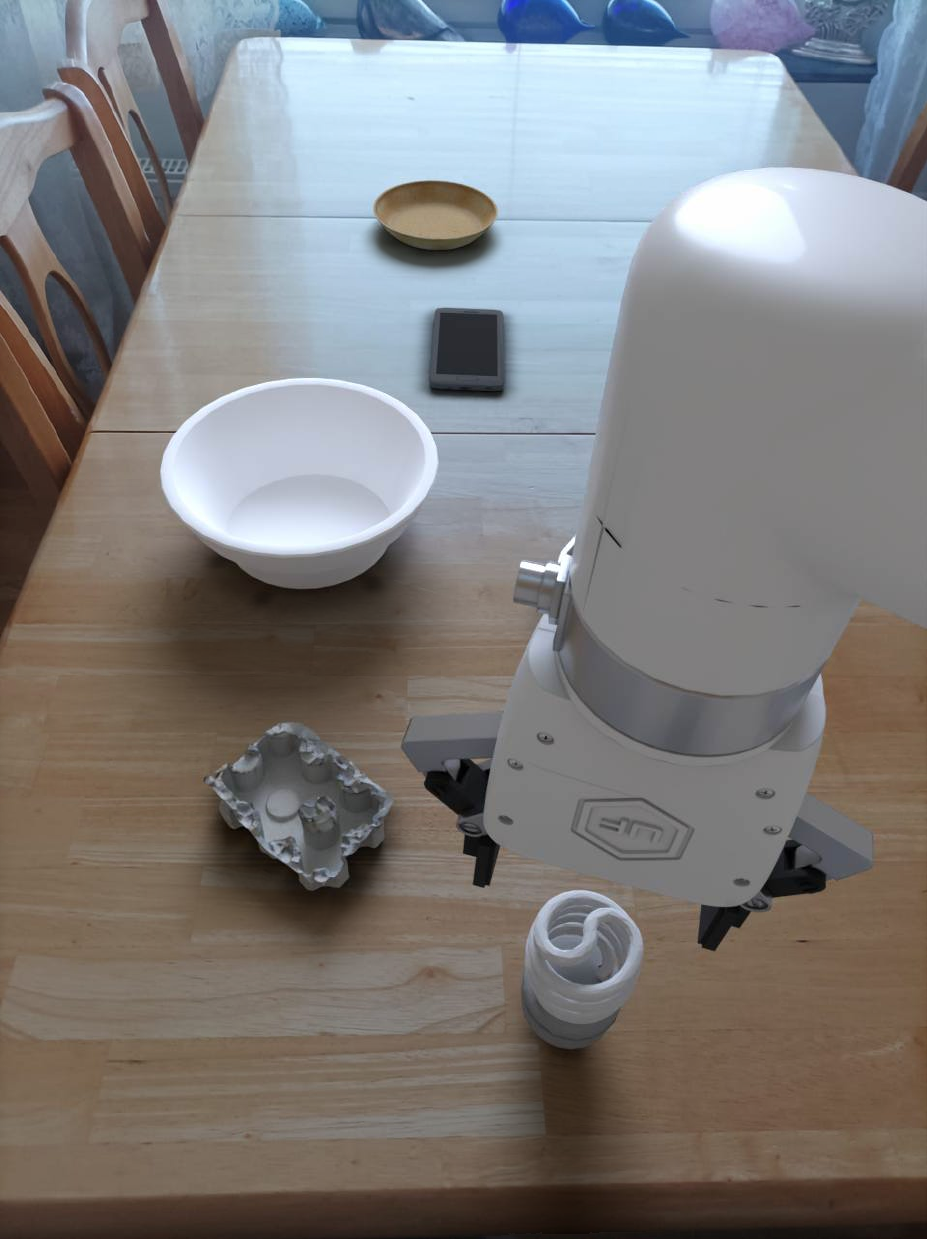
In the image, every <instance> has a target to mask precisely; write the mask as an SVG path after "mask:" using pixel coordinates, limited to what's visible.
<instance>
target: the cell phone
mask: <svg viewBox="0 0 927 1239" xmlns="http://www.w3.org/2000/svg"><path fill="white" fill-rule="evenodd" d="M504 323H505V321H504V313H503V311H502V310H499V309H491V308H466V307H465V308H462V307H438V308H436V309H435V310H434V315H433V329H432V343H431V344H432V345H431V356H430V371H429V385H430V387H431V388H432V389H437V390H454V391H459V390H460V391H484V392H500V391H502V390H504V388H505V382H506V381H505V380H506V379H505V378H506V377H505V376H506V375H505V374H506V373H505V326H504V325H505V324H504Z"/></svg>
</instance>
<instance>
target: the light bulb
mask: <svg viewBox="0 0 927 1239" xmlns="http://www.w3.org/2000/svg"><path fill="white" fill-rule="evenodd" d="M644 951H645V949H644V941H643V938H642V933H641V931H640V929H639V928H638V926H637V924H636V922H635V921H634V920H633V919H632V918H631V917H630V915H629V914H628V912H626V911H625V910H624V909H623V908H622V907H621V906H620V905H618V903H616V902H615V901H614V900H612V899H610V898H609V897H607V896H606V895H603V894H600V893H598V892H595V891H591V890H585V889H581V890H580V889H573V890H570V891H565V892H561V893H559V894H557V895H556V896H554V897H552V898H550V899H549V900H548V901H547V902H546V903H545V904H544V905H543V906H542V907H541V908H540V910H539V912H538V913H537V915H536V918H535V919H534V921H533V923H532V924H531V926H530V930H529V933H528V935H527V939H526V942H525V948H524V966H523V967H524V968H523V969H522V973H521V981H520V982H521V983H520V996H521V998H520V999H521V1008H522V1013H523V1017H524V1019H525V1020H526V1021H527V1023H528V1024H529V1026H530V1028H531V1029H532V1031H533V1032H534V1033H535V1034H536V1035H537V1036H538V1037H539V1038H540V1039H541V1040H543V1041H544V1042H546V1043H548V1044H550V1045H551V1046H554V1047H556V1048H560V1049H566V1050H567V1049H568V1050H574V1049H576V1050H577V1049H583V1048H587V1047H589V1046H591V1045H593V1044H594V1043H596V1042H598V1041H599V1040H601V1039H602V1037H604V1035H605V1034H606V1033H607V1032H608V1030H609V1029H610V1028H611V1027H612V1025H614V1023H615V1022H616V1020H617V1018H618V1015H619V1013H620V1010H621V1008H622V1006H623V1005H625V1003H626V1002H627V1000H628V999H629V998H630V996H631V995H632V993H633V992H634V989H635V987H636V985H637V982H638V980H639V976H640V973H641V969H642V964H643V956H644ZM616 959H617V964H616Z"/></svg>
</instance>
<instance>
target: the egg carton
mask: <svg viewBox="0 0 927 1239" xmlns="http://www.w3.org/2000/svg"><path fill="white" fill-rule="evenodd" d="M202 783H206V785H207V786H208V787H209V789H213V791H214V792H215V793H216V794H217V795H218V796H219V797H220V802H219V805H218V809H219V810H218V811H219V813H220V815H221V817H222V818H223V820H224V822H225V823H226V825H227V826H228V827H229V828H231V829H233V830H236V829H239V828H241V827H245V828H246V829H248V831H249V832H250V833H251V835H253V837H254V839H256V841H257V843H258V847H259V850H260V851H261V853H263V854H266V855H268V856H269V858H271V859H273V860H279V861H280V862H282V863H283V864H284V865H286V866H288V867H289V868H290V869H292V870H293V871H294V872H296V873H297V874H298V881H299V883H300V884H302V886H303V887H304V888H305V889H306V890H307V891H312V892H313V891H316V890H318V889H319V888H322V887H323V888H325V887H330V888H338V889H339V888H341V887H342V886H343V885H344V884H345V882H347V880H349V878H350V873H349V865H348V860H347V857H348V856H349V855H353V854H354V853H356V852H357V851H358V849H360V848H364V847H369V848H371V849H375V848H377V847H378V846H379V845H380V844H381V843H382V842H383V841H384V839H385V837H386V836H385V835H386V834H385V821H384V820H385V818H386V816H387V814H388V813H389V811H390V809H391V807H392V805H393V803H394V802H395V797H394V795H392V794H391V793H390V792H388V791H387V790H386V789H384V788H383V787H382V786H380V785H379V784H377V783H374V782H373V781H372V780H371V779H369V777H368V776H367V774H366V773H362V771H360V769H359V768H358V767H357V766H356V765H355V763H354V762H353V761H351V760H349V759H347V758H346V757H344V756H343V755H342V754H341V753H339V752H338V751H337V750H336V749H335V748H333V747H332V746H330V745H328V743H326V742H325V741H324V740H323V739H322V738H321V737H320V736H319V735H318V734H317V733H315V732H314V731H313V730H312V729H311V728H310V727H308V726H306V725H305V724H304V723H301V722H296V721H293V722H291V721H290V722H284V721H283V722H278V723H277V724H276V725H274V726H273V727H271V728H270V729H268V730H266V731H264V734H263V736H261V737H260V738H259V739H258V740H257V741H256V742H254V743H253V744H249V745H248V746H247V747H246V749H245V751H244V753H243V755H242V756H241V757H240V758H239V759H238V760H236V762H234V763H233V764H231V763H229V762H227V763H225V764H223V765H221V766H220V767H219V768H218V769H217V770H216V771H214V772H213V774H210V776H209V774H208V775H205V776H204V777H203V779H202Z"/></svg>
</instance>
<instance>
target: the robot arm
mask: <svg viewBox="0 0 927 1239" xmlns="http://www.w3.org/2000/svg"><path fill="white" fill-rule="evenodd" d="M629 264H630V265H629V268H628V273H627V277H626V279H625V280H626V281H625V286H624V288H623V292H622V296H621V299H620V300H621V301H620V306H619V310H618V316H617V321H616V326H615V332H614V337H613V342H612V346H611V351H610V357H609V362H608V367H607V372H606V378H605V383H604V387H603V393H602V399H601V404H600V409H599V413H598V419H597V424H596V430H595V434H594V440H593V444H592V450H591V455H590V461H589V466H588V471H587V476H586V483H585V487H584V493H583V499H582V505H581V510H580V515H579V520H578V523H577V527H576V533H575V535H576V537H575V543H574V549H573V554H572V556H570V555H566V554H564V555H563V558H562V562H561V563H560V562H557V561H555V560H551V559H549V560H547V563H542V562H538V561H533V560H529V559H526V558H525V559H524V558H523V559H522V560H521V562H520V566H519V568H518V573H517V577H516V580H515V581H516V582H515V586H514V591H513V597H512V602H513V603H514V604H519V605H524V606H528V607H531V608H536V611H535V612H536V613H538V614H542V616H541V617H540V619H539V621H538V623H537V625H536V626H535V628H534V630H533V633H532V634H531V637H530V639H529V641H528V643H527V645H526V648H525V650H524V652H523V655H522V657H521V660H520V661H519V663H518V665H517V668H516V672H515V673H514V676H513V679H512V683H511V686H510V689H509V692H508V696H507V699H506V702H505V705H504V707H503V710H501V711H500V710H499V711H484V712H483V711H482V712H464V713H449V714H431V715H430V714H429V715H416V716H412V717H410V719H409V722H408V724H407V727H406V730H405V733H404V736H403V738H402V741H401V744H400V748H401V750H402V752H403V753H404V755H405V756H406V758H408V760H409V761H410V763H411V764H412V765H413V767H414V768H415V770H416V771H417V772H418V773H422V774H423V776H424V777H425V779H424V781H423V786H424V788H425V790H426V791H428V792H429V793H430V794H431V795H432V796H433V797H435V798H436V799H438V800H439V801H440V802H441V803H442V804H444V806H446V807H447V808H448V809H449V810H451V811H452V812H453V813H455V814H456V815H457V819H456V823H455V828H456V829H457V830H458V831H459V832H460V833H461V834H463V835H464V836H463V837H464V838H463V845H462V846H463V848H462V854H463V855H466V856H470V857H474V858H475V865H474V871H473V879H472V886H475V887H479V888H482V889H485V888H486V886H487V887H490V886H491V883H492V878H493V876H494V871H495V867H496V863H497V860H498V857H499V852H500V849H501V847H502V848H503V849H504V850H507V851H509V852H511V853H513V854H516V855H518V856H521V857H524V858H526V859H530V860H533V861H537V862H539V863H542V864H547V865H550V866H553V867H557V868H560V869H564V870H568V871H572V872H575V873H579V874H583V875H586V876H590V877H593V878H597V879H601V880H603V881H608V882H611V883H616V884H619V885H623V886H627V887H630V888H634V889H638V890H642V891H646V892H650V893H654V894H658V895H661V896H665V897H668V898H669V897H670V898H673V899H677V900H681V901H685V902H689V903H693V904H697V905H700V911H699V912H700V913H699V922H698V934H697V944H699V945H701V949H704V950H707V951H712V952H716V950H717V949H718V947H719V946H720V944H721V943H722V941H723V940H724V938H725V937H726V935H727V934H728V932H729V931H730V929H731V928H736V929H740V928H741V927H742V926H743V924H744V923H745V921H746V920H747V919H748V917H749V916H750V914H751V913H752V912H753V913H766V912H768V911H770V910H771V909H772V902H773V900H772V899H774V898H783V897H790V896H799V895H807V894H808V895H813V894H817V893H822V892H823V891H824V890H826V888H827V882H828V881H831V880H834V881H836V882H838V881H840V880H844V879H846V878H849V877H852V876H855V875H858V874H862V873H864V872H867V871H869V870H871V869H873V868H874V866H875V858H874V857H875V855H874V834H873V832H872V831H871V830H870V829H868V828H867V827H866V826H863V825H862V824H860V823H859V822H858V821H856V820H854V819H852V818H850V817H849V816H847V815H846V814H844V813H842V812H841V811H839V810H837V809H836V808H834V807H832V806H831V805H829V804H828V803H826V802H824V801H823V800H821V799H820V798H818V797H816V796H815V795H813V794H811V793H810V792H808V788H809V786H810V783H811V781H812V777H813V775H814V771H815V769H816V764H817V761H818V757H819V754H820V752H821V751H820V750H821V748H822V742H823V738H824V733H825V728H826V721H827V707H826V701H825V696H824V683H823V678H822V671H823V669H824V668H825V666H826V664H827V662H828V661H829V658H830V656H831V655H832V653H833V652H834V650H835V648H836V646H837V644H838V642H839V640H840V639H841V637H842V635H843V633H844V632H845V630H846V628H847V627H848V624H850V621H851V620H852V618H853V616H854V614H855V613H856V610H857V608H858V607H859V605H860V604H861V602H862V600H863V601H865V602H867V603H869V604H871V605H874V606H876V607H878V608H880V609H882V610H884V611H886V612H889V613H890V614H892V615H894V616H897V617H899V618H900V619H903V620H905V621H907V622H909V623H912V624H913V625H916V626H918V627H920V628H922V629H924V630H927V200H925V199H923V198H921V197H918V196H917V195H914V194H912V193H909V192H907V191H904V190H902V189H899V188H897V187H895V186H892V185H889V184H885V183H883V182H879V181H876V180H872V179H868V178H865V177H862V176H857V175H853V174H848V173H843V172H837V171H831V170H824V169H819V168H818V169H816V168H807V167H790V166H788V167H785V166H783V167H781V166H780V167H779V166H778V167H775V166H774V167H772V166H769V167H760V168H752V169H742V170H737V171H735V170H734V171H730V172H727V173H723V174H720V175H716V176H714V177H712V178H709V179H707V180H705V181H702V182H701V183H698V184H696V185H694V186H691V187H689V188H687V189H685V190H683V192H681V193H679V194H678V195H677V196H675V197H674V198H673V199H671V200H670V201H669V202H668V203H667V204H666V205H665V206H664V207H662V209H660V211H659V212H658V213H657V214H656V216H655V217H654V218H653V219H652V221H651V222H650V224H649V225H648V227H647V228H646V229H645V230H644V232H643V234H642V235H641V237H640V239H639V241H638V243H637V247H636V248H635V251H634V253H633V254H632V256H631V261H630V263H629ZM475 759H476V760H477V759H478V760H480V759H487V760H484V761H481V762H479V763H477V764H476V763H475V762H474V761H473V760H475ZM788 838H789V839H788Z"/></svg>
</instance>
